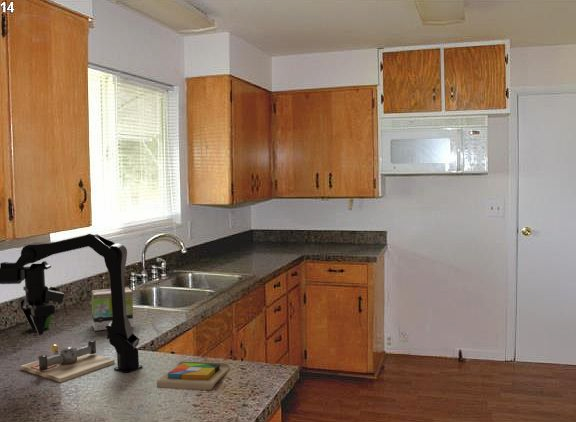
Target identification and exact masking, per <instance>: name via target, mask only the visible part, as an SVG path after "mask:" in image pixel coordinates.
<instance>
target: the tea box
mask: <svg viewBox="0 0 576 422" xmlns="http://www.w3.org/2000/svg"><path fill="white" fill-rule="evenodd" d="M125 299H126V314H127V318H128V320H129V322H130V325H131V328H133V327H134V307H133V305H134V304H133V303H134V302H133V300H134V299H133V291H132V290H131V289H130V287H125ZM91 316H92V317H91V322H92V323H91V325H92V327H93V330H94V332H96V331H102V330H103V331H105V330H107V325H108V324H109V323H110V322H111V321H112V319H113V316H112V301H111V288H105V289H92V290H91Z"/></svg>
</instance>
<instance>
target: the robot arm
mask: <svg viewBox="0 0 576 422" xmlns="http://www.w3.org/2000/svg"><path fill="white" fill-rule="evenodd" d="M86 247H87V248H88V247H89V248H90V249H92V250H93V251H94V252H95V253H96V254H98V255H99V256H101V257H102V258H103V260H104V263H105V267H106V269H107V271H108V274H109V280H110V281H109V282H110V283H109V284H110V289H111V301H112V316H113V319H112V321H111V322H110V323H109V324H108V325H107V329H106V332H107V337H106V339H107V340H108V341H109V344H110V345H111V346H112V347H114V349H115V351H116V358H117V359H116V360H117V366H115V367H114V368H113V370H115V371H118V372H122V373H127V374H128V373H132V372H133V371H136V370H139V369H142V368H143V367H144V366H143V365H142V364H139V360H140V359H139V349H138V348H137V347H138V346H139V343H140V338H139V337H138V336H136V335H135V334H134V333H133V329H132V327H131V325H130V322H129V320H128V318H127V314H126V299H125V288H126V287H125V286H126V285H125V284H126V283H125V269H126V264H127V259H128V257H127V256H128V249H127V247H126V246H124V245H123V244H122V243H119V242H118V243H116V242H114V241H112V240H110V239H108V238H105V236H102V235H100V234H98V233H97V232H89V233H87V234H83V235H79V236H74V237H70V238H67V239H62V240H58V241H40V242H39V241H38V242H33V243H30V244H26V245H24V246H23V247H22V249H21V250H20V251H21V252H20V256H19V257H18V259H17V260H16V261H15V262H9V261H5V262H0V285H19V284H21V283H22V282H23V281H24V286H23V291H24V292H25V296H20V298H19V299H18V300H17V306H18V307H19V308H20V311H21V312H22V314H23V315H24V317H25V319H26V321H27V323H28V325H29V327H30V328H31V330H32V331H36V332H37V334H38V335H39V336H41V335H44V330H45V329H44V327H45V323H46V320H47V318H48V317H49V316H50V315H51V316H52V315H54V314H56V313H57V312H56V306H54V305H53V304H51V303H50V302H53V303H57V304H60V305H61V304H63V302H64V298H65V296H66V294H65V293H64V292H61V291H59V290H58V289H57V287H55V286H50V287H48V286H47V285H46V281H45V279H46V278H45V270H49V269H51V268H52V265H51V264H50V263H48V262H47V260H43V259H46V258H48V257H50V256H53V255H57V254H61V253H65V252H69V251H75V250H79V249H83V248H86ZM41 260H43V261H41ZM39 261H41V263H36V262H39ZM29 264H30V266H27V265H29Z"/></svg>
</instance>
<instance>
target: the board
mask: <svg viewBox="0 0 576 422" xmlns="http://www.w3.org/2000/svg"><path fill="white" fill-rule="evenodd" d="M53 356H55V355H54V354H53ZM48 357H49V356H47V358H48ZM115 363H116V362H115V359H114V358H109V357H106V356H102V355H98V354H96V353H95V354H86V355H83V356H80V357H77V362H75V363H72V364H61V363H58V364H56V365H57V366H55V367H52V368H49V369H46V370H43V371H39V370H36V369H33V368H31V366H35V365H38V364H39V359H38V360H36V361H35V360H34V361H31V362H29V363H25V364H23V365H20V370H21V371H25V372H28V373H30V374H34V375H37V376H40V377H42V378H45V379H49V380H52V381H55V382H59V383H63V382H65V381H68V380H71V379H74V378H77V377H80V376H82V375H85V374H89V373H91V372H93V371H96V370H100V369H102V368H105V367H108V366H112V365H114V364H115ZM37 368H39V366H38V367H37Z"/></svg>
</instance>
